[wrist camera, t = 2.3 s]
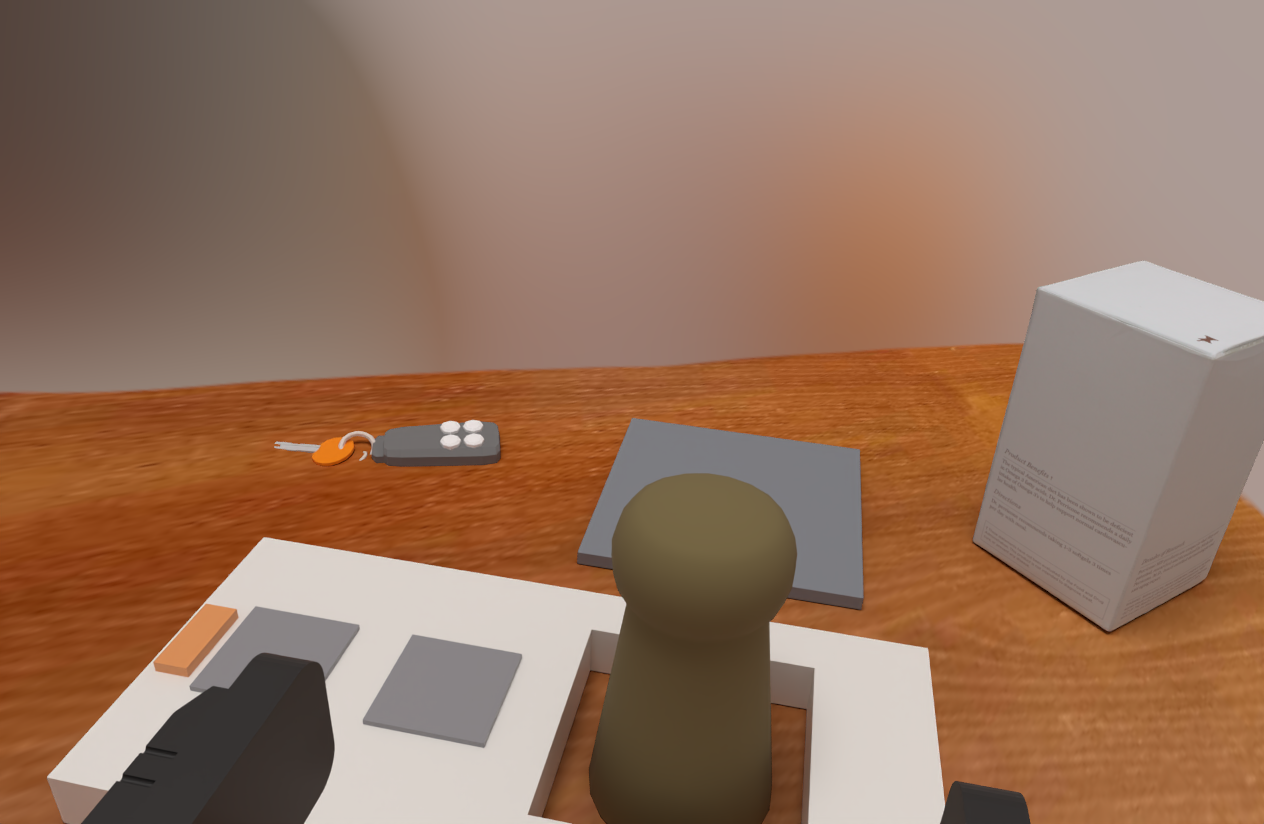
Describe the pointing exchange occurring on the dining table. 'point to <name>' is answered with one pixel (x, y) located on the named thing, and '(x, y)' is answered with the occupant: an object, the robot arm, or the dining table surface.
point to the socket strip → (493, 692)
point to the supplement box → (1126, 438)
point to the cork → (693, 654)
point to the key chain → (416, 446)
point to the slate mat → (784, 469)
